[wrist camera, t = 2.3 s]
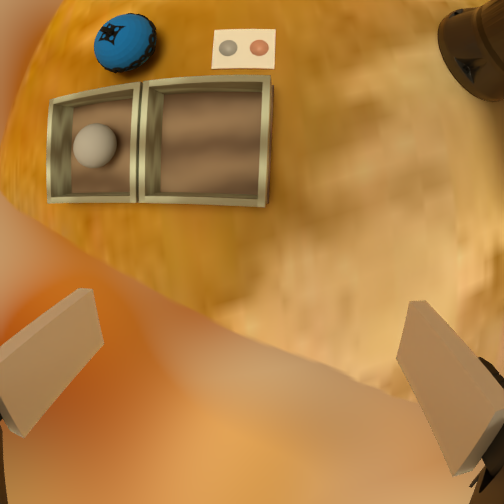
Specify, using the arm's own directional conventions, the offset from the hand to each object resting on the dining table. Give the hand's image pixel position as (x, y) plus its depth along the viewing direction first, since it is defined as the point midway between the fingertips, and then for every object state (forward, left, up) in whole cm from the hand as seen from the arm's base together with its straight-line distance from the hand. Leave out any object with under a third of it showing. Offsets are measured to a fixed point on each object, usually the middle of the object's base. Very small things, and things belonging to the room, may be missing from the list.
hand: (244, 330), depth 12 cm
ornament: (-23, -19, -29) cm, 42 cm away
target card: (-22, -4, -29) cm, 36 cm away
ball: (-9, -23, -28) cm, 37 cm away
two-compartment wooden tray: (-9, -15, -29) cm, 34 cm away
